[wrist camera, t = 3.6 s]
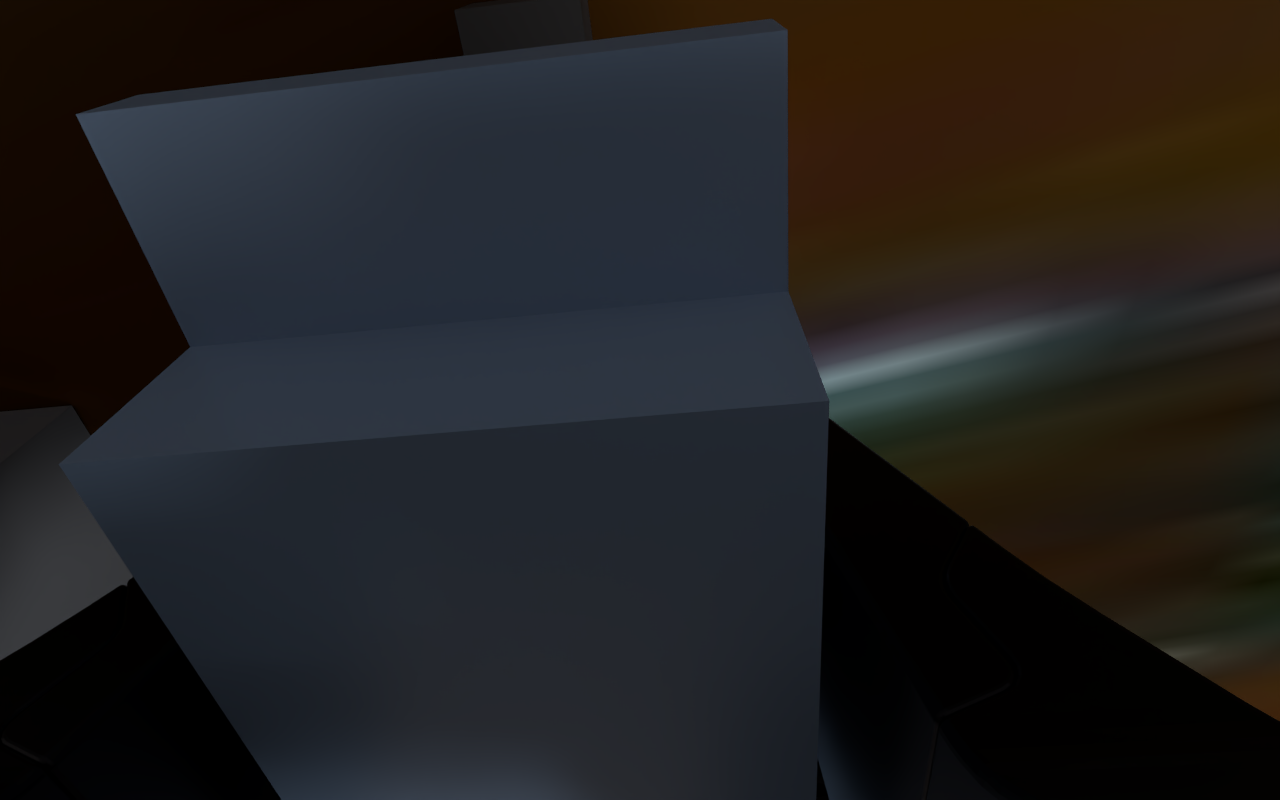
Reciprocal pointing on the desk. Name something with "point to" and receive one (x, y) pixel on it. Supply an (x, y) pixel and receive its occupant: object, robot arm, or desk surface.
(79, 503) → the chassis
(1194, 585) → the desk surface
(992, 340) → the desk surface
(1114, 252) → the desk surface
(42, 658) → the robot arm
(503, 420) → the block
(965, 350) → the desk surface
